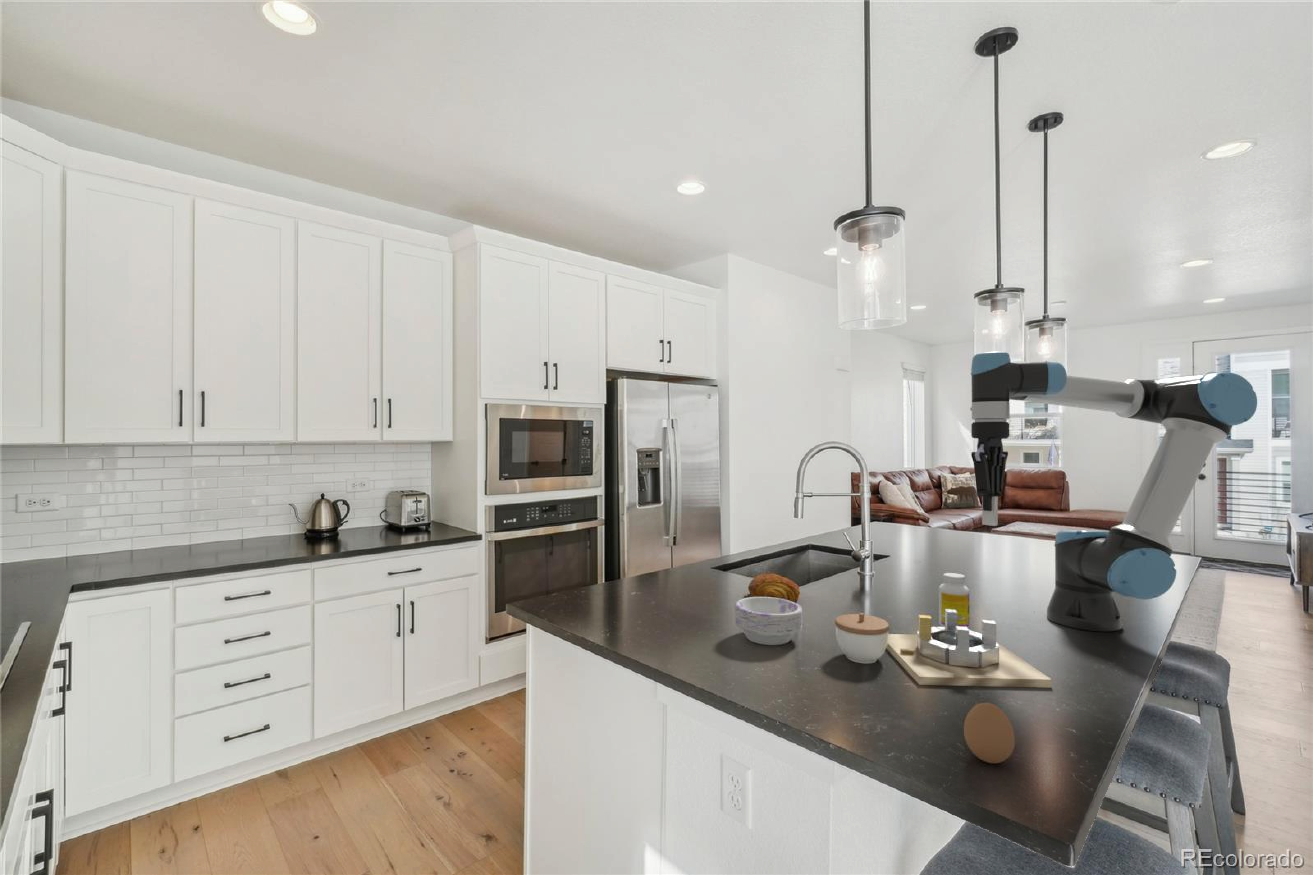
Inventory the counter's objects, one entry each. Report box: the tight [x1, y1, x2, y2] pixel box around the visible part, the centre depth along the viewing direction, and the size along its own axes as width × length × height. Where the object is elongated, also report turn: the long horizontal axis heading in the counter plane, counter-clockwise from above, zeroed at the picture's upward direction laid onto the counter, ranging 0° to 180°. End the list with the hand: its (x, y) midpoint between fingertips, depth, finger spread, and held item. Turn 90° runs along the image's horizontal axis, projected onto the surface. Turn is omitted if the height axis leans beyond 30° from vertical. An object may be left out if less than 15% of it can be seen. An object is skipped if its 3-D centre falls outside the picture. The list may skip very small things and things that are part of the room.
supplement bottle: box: [938, 572, 970, 630], centre depth 145 cm, size 7×7×13 cm
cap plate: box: [886, 633, 1053, 689], centre depth 123 cm, size 24×24×2 cm
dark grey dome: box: [939, 632, 974, 647], centre depth 123 cm, size 6×6×4 cm
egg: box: [963, 702, 1016, 764], centre depth 86 cm, size 6×6×8 cm
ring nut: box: [916, 609, 999, 667], centre depth 123 cm, size 14×14×7 cm
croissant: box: [747, 573, 801, 603], centre depth 170 cm, size 14×16×8 cm
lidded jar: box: [834, 612, 890, 665], centre depth 125 cm, size 11×11×9 cm
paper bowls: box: [734, 596, 803, 646], centre depth 137 cm, size 15×15×8 cm
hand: (989, 524), depth 135 cm, fingers closed
